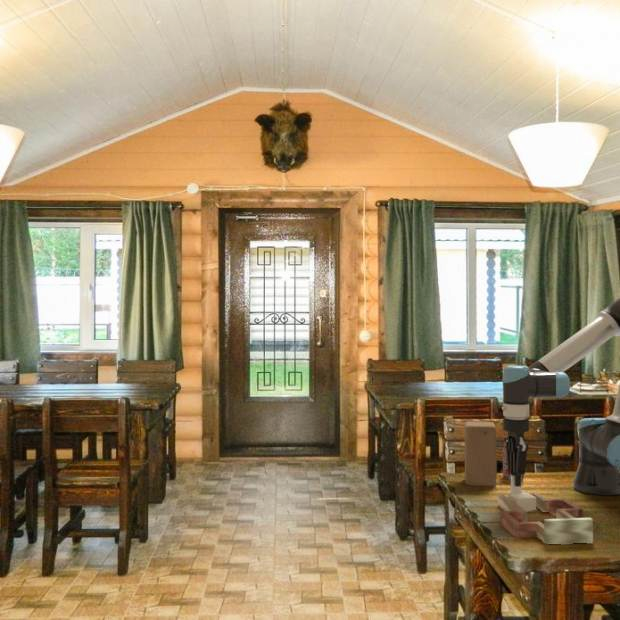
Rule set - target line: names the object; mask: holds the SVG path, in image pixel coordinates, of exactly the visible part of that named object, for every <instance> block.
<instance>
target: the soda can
mask: <svg viewBox="0 0 620 620" xmlns="http://www.w3.org/2000/svg"><path fill="white" fill-rule="evenodd" d="M524 476H525V475H522V479H524V478H525V477H524ZM502 477H503V478H505V479H506V480H507V479H508V481H511V473H510V470H508V465H507V454H506V444H505V443H504V446H503V448H502Z"/></svg>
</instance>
